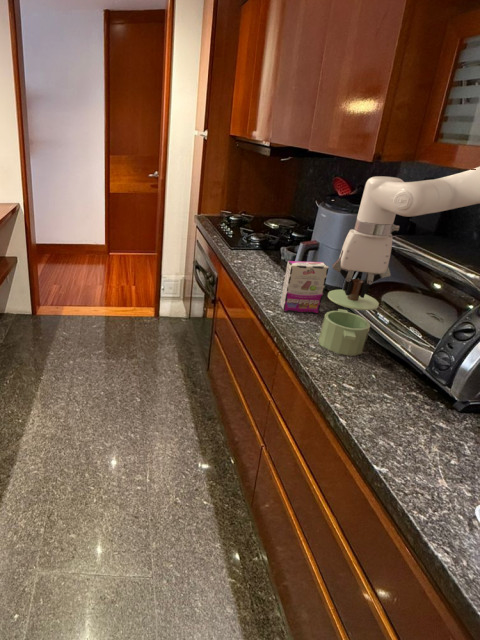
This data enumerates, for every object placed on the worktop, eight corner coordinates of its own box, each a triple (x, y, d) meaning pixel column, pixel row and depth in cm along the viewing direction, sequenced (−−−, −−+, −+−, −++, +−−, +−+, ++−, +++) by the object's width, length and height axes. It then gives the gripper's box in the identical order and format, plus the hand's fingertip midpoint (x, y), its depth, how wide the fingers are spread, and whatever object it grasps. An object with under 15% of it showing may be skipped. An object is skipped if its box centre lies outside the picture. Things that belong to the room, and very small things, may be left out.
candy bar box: (313, 306, 131) (324, 261, 125) (318, 313, 126) (330, 267, 120) (278, 304, 133) (287, 259, 127) (282, 311, 128) (292, 265, 122)
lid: (373, 297, 106) (379, 276, 104) (382, 316, 97) (389, 293, 94) (325, 290, 111) (330, 269, 108) (329, 307, 101) (334, 285, 99)
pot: (357, 336, 114) (364, 310, 110) (367, 366, 100) (375, 338, 97) (316, 328, 118) (322, 304, 114) (320, 356, 104) (327, 329, 101)
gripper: (408, 227, 96) (387, 294, 103) (333, 220, 102) (318, 284, 109) (416, 235, 90) (393, 306, 97) (336, 228, 96) (320, 294, 103)
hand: (354, 294), depth 103 cm, fingers closed on lid, 2 cm apart
